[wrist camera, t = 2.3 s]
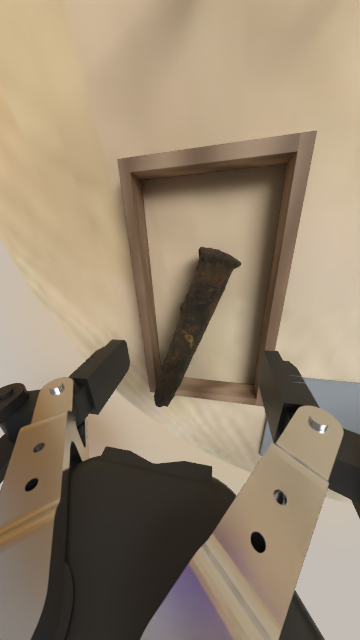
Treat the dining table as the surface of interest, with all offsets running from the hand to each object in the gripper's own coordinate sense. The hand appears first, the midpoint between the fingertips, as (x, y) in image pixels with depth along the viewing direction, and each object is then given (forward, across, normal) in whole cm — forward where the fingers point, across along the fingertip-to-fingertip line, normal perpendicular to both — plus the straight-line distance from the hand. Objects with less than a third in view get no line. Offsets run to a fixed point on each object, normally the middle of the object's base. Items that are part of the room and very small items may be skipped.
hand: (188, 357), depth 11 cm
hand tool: (+15, -1, -1) cm, 15 cm away
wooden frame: (+12, 0, 0) cm, 12 cm away
